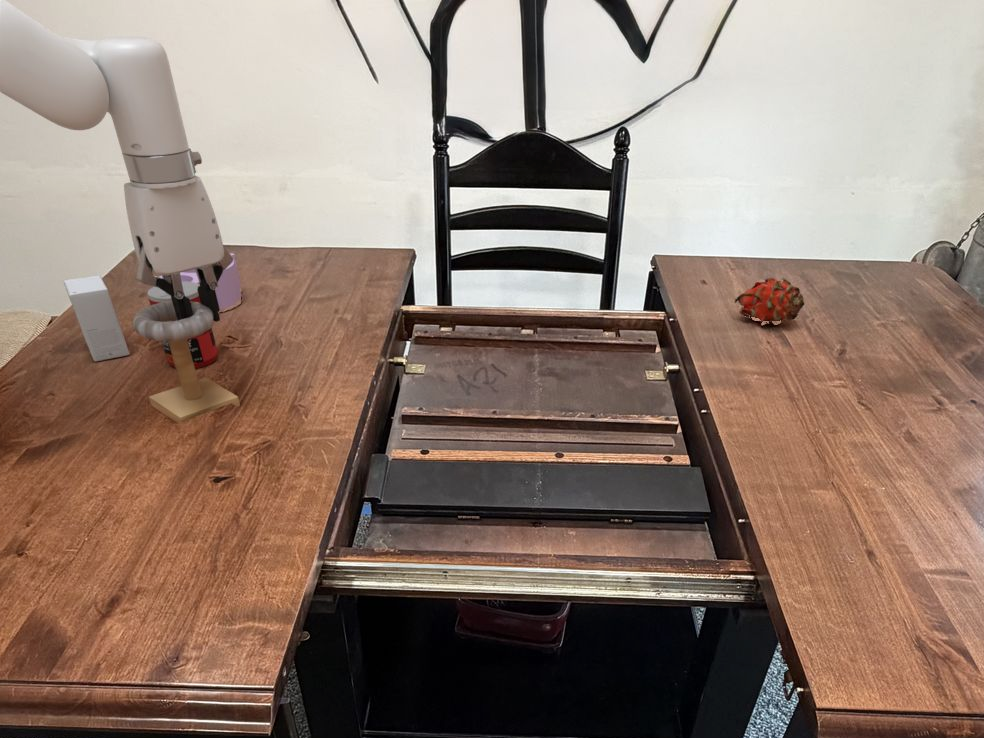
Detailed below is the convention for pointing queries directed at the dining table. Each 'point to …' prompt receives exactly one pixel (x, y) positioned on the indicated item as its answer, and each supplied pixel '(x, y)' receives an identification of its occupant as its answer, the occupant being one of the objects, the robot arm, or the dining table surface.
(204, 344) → the canned food
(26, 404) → the dining table surface
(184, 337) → the ring
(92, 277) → the small box
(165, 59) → the robot arm
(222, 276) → the clip
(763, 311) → the dragon fruit
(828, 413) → the dining table surface
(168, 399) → the stand
